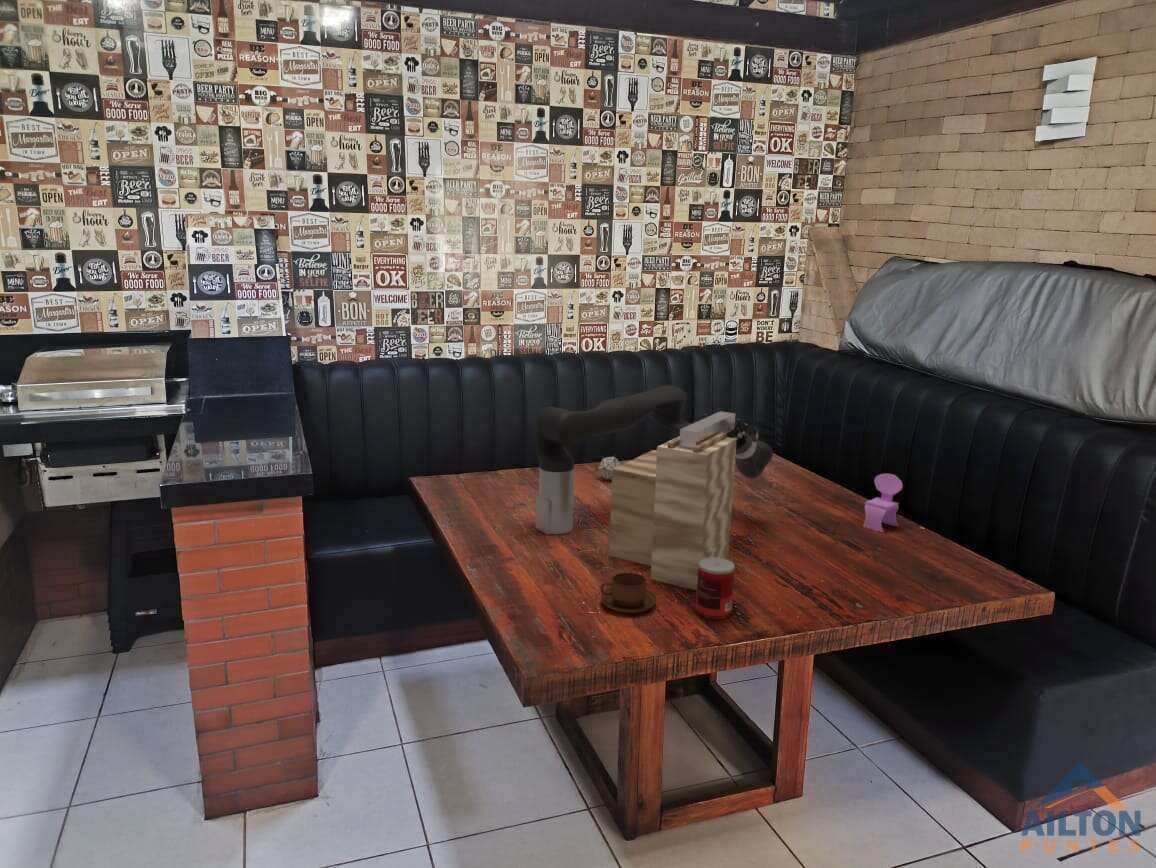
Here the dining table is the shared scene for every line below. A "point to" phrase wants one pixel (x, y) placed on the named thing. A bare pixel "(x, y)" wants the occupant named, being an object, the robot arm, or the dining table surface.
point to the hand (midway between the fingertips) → (720, 419)
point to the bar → (706, 429)
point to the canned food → (715, 587)
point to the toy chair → (883, 503)
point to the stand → (674, 508)
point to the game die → (608, 466)
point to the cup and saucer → (627, 593)
